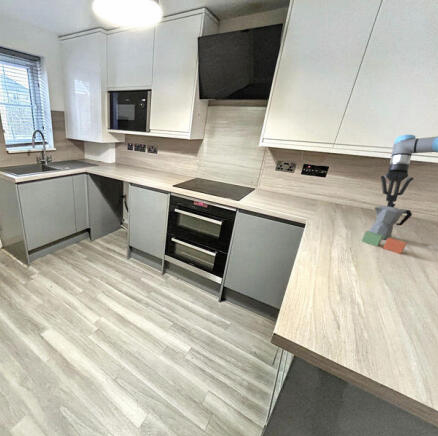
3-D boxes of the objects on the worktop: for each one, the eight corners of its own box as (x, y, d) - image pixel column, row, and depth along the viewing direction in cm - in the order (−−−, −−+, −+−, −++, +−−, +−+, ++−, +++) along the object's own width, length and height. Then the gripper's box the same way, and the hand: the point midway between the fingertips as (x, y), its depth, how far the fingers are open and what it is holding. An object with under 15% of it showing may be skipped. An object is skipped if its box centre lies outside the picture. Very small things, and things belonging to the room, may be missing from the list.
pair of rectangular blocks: (402, 252, 106) (407, 242, 104) (400, 254, 105) (405, 244, 103) (363, 239, 117) (367, 230, 115) (361, 241, 115) (365, 231, 113)
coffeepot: (368, 237, 120) (383, 204, 114) (358, 230, 129) (372, 199, 122) (405, 243, 116) (423, 209, 110) (393, 235, 125) (409, 203, 118)
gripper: (413, 167, 127) (403, 209, 128) (380, 165, 134) (371, 206, 135) (419, 163, 121) (409, 208, 122) (384, 162, 128) (375, 204, 129)
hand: (389, 207), depth 128 cm, fingers closed
